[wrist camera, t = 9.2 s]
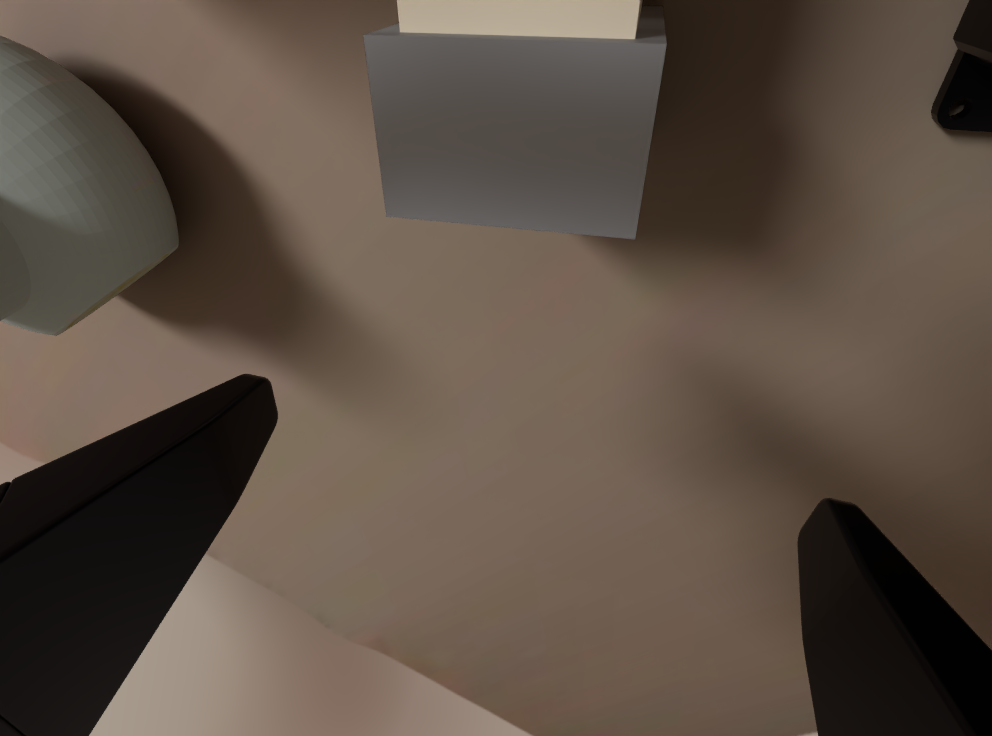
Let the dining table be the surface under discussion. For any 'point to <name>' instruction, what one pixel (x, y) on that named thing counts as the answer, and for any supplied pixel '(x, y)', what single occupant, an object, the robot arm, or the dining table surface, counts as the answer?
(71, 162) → the air freshener
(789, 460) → the dining table surface
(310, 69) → the dining table surface
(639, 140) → the steel ended block
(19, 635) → the robot arm
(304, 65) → the dining table surface
